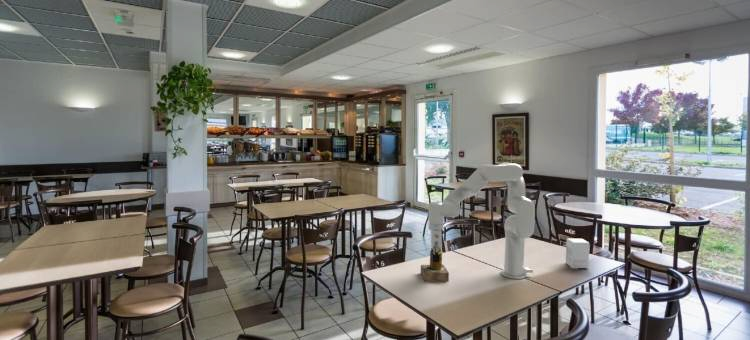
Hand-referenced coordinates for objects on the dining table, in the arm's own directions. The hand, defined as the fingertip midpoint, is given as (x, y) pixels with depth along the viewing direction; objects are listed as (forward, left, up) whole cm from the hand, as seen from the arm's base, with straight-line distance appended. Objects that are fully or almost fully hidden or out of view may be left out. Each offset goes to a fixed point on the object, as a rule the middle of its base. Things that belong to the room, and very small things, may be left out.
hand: (435, 258), depth 193 cm
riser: (0, 0, -10) cm, 10 cm away
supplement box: (-82, -24, -10) cm, 86 cm away
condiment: (0, 0, -6) cm, 6 cm away
